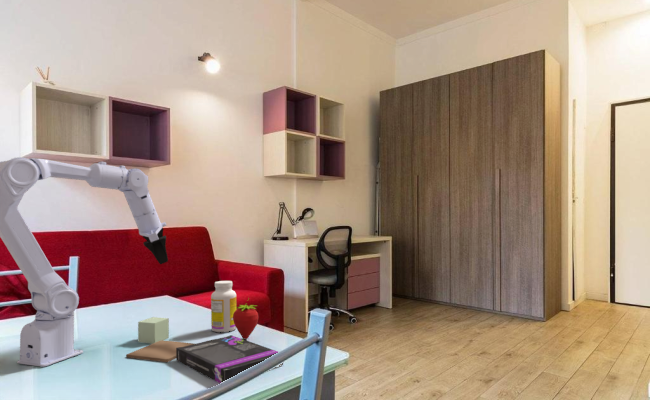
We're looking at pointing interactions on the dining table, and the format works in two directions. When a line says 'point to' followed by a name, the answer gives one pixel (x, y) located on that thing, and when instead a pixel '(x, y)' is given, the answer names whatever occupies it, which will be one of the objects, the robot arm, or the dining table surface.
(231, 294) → the supplement bottle
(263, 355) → the box
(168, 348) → the walnut board
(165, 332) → the sage cube
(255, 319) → the strawberry
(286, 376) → the dining table surface
